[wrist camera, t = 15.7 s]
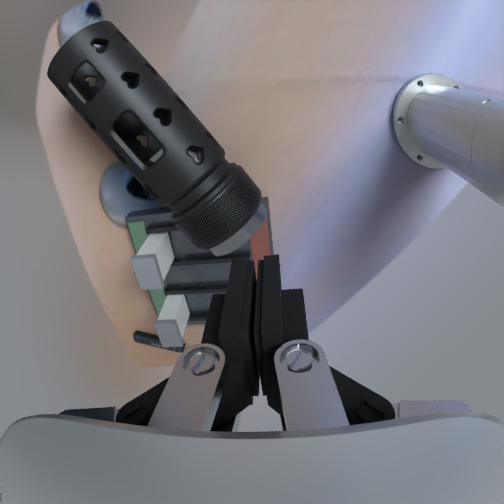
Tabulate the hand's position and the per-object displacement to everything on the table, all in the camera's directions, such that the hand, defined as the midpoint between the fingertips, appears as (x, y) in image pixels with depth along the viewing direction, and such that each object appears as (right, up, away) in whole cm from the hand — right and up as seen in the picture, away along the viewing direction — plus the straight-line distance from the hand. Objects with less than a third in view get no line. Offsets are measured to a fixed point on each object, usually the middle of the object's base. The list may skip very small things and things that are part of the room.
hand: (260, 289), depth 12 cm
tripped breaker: (-11, -6, +36) cm, 38 cm away
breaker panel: (-7, 0, +35) cm, 35 cm away
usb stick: (-17, -14, +44) cm, 49 cm away
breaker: (-12, +2, +31) cm, 33 cm away
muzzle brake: (-10, +16, +24) cm, 31 cm away
